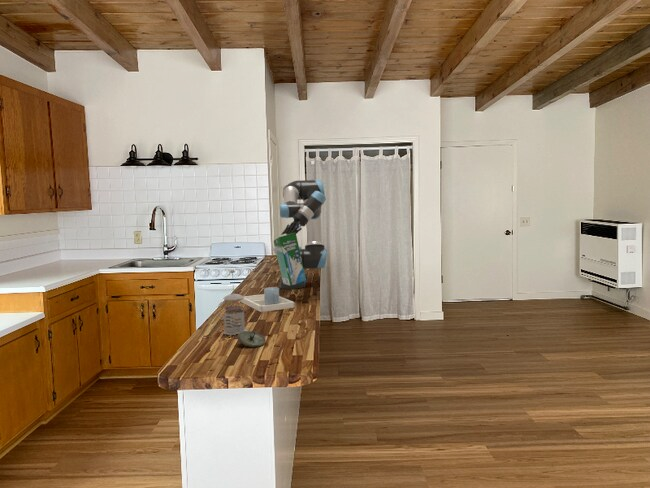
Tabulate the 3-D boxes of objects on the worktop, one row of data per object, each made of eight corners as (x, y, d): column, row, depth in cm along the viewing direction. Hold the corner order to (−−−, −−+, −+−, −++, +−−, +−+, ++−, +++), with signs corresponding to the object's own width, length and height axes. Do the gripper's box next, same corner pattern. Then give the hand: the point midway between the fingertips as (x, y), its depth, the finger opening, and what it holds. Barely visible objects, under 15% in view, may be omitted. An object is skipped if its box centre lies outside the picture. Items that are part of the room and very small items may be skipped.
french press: (242, 335, 204) (239, 271, 202) (214, 334, 206) (211, 271, 204) (250, 328, 213) (248, 267, 211) (224, 328, 216) (221, 267, 213)
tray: (240, 303, 264) (240, 296, 264) (272, 299, 272) (272, 293, 272) (260, 314, 240) (260, 306, 239) (294, 309, 247) (294, 302, 247)
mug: (262, 306, 251) (261, 288, 250) (276, 304, 254) (275, 286, 253) (269, 310, 243) (269, 290, 242) (283, 308, 246) (283, 289, 245)
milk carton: (298, 278, 270) (288, 231, 266) (306, 280, 262) (295, 232, 258) (283, 283, 266) (272, 236, 262) (290, 285, 258) (279, 236, 254)
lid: (252, 339, 198) (252, 326, 198) (271, 343, 192) (271, 329, 192) (231, 345, 190) (230, 332, 190) (250, 350, 184) (250, 336, 183)
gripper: (292, 211, 274) (263, 245, 267) (304, 211, 262) (274, 247, 255) (301, 220, 277) (273, 254, 270) (314, 221, 265) (285, 257, 258)
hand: (274, 251), depth 263 cm, fingers closed
